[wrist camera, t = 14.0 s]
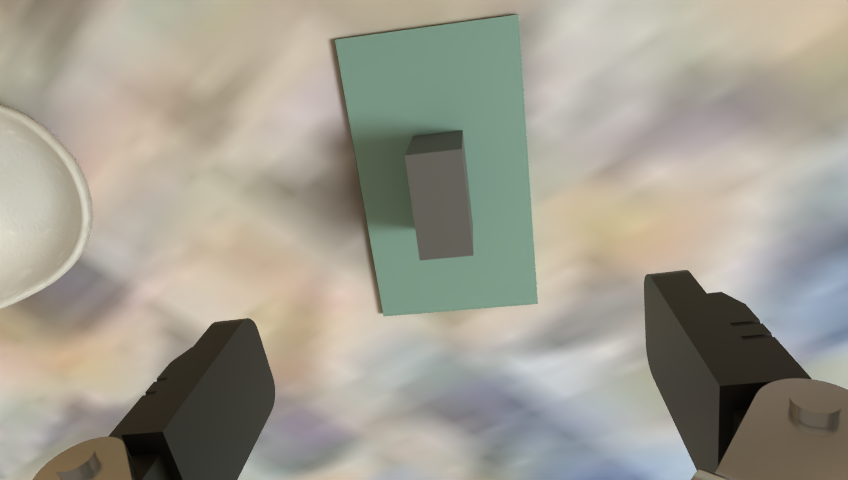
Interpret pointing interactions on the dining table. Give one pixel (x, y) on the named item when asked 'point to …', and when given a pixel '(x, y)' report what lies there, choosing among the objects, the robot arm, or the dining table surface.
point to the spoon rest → (38, 208)
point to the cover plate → (494, 150)
